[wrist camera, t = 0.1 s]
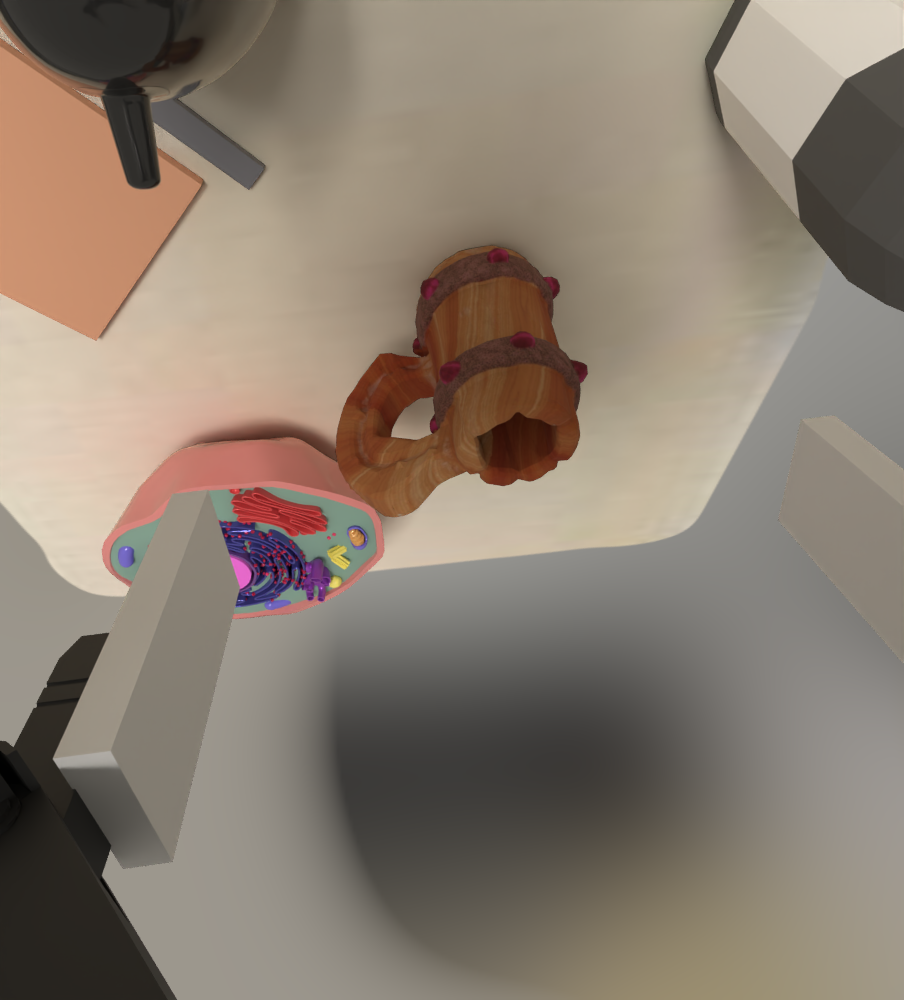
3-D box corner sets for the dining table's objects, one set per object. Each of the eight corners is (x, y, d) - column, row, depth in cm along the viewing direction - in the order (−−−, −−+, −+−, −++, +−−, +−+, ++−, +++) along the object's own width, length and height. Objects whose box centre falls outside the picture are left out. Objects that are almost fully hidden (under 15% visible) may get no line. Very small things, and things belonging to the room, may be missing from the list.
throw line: (-163, -157, 25) (-168, -155, 25) (264, 165, 36) (264, 168, 36) (-172, -118, 26) (-177, -115, 26) (249, 186, 37) (248, 189, 37)
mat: (-117, -43, 28) (-123, -39, 28) (202, 179, 36) (201, 185, 36) (-186, 192, 35) (-191, 198, 34) (98, 334, 43) (96, 340, 43)
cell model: (406, 505, 60) (417, 620, 53) (194, 554, 62) (177, 670, 55) (340, 362, 47) (342, 490, 40) (73, 430, 49) (31, 563, 42)
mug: (530, 198, 39) (593, 373, 30) (565, 305, 45) (627, 478, 36) (306, 296, 43) (301, 481, 33) (367, 384, 49) (378, 560, 39)
